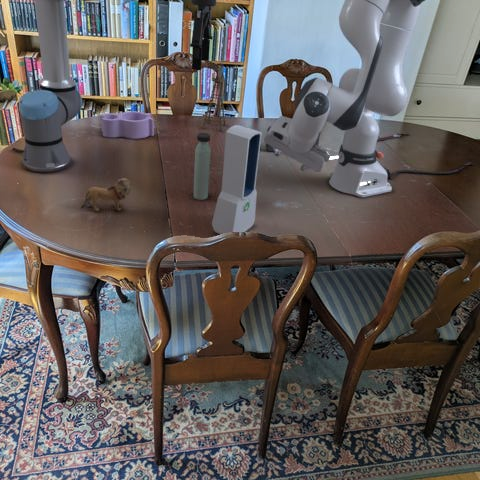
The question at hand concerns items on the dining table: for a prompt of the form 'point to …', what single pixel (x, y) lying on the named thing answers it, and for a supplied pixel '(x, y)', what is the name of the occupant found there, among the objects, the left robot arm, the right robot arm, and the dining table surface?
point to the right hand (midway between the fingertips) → (289, 161)
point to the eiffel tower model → (217, 80)
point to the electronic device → (238, 181)
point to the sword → (390, 137)
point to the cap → (203, 137)
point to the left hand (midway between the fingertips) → (200, 65)
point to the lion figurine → (108, 193)
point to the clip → (127, 125)
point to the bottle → (201, 170)
